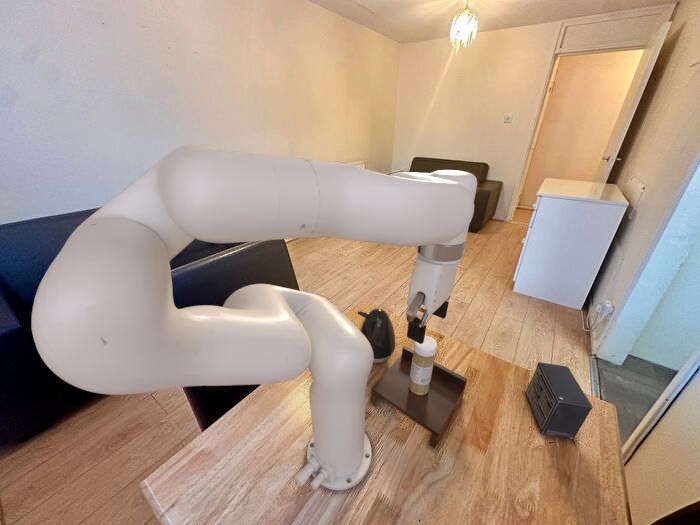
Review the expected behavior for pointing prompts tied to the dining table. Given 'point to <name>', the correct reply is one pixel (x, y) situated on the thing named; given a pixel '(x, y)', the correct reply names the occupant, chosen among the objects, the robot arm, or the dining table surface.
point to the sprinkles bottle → (422, 365)
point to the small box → (557, 401)
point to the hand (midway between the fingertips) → (427, 327)
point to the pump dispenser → (378, 333)
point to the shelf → (422, 409)
